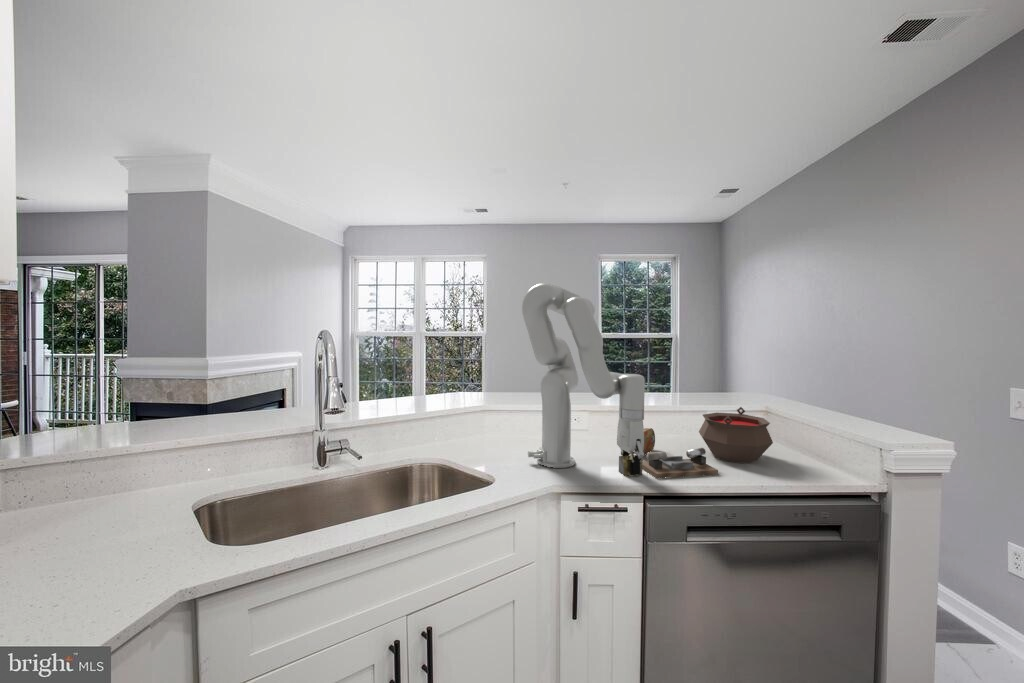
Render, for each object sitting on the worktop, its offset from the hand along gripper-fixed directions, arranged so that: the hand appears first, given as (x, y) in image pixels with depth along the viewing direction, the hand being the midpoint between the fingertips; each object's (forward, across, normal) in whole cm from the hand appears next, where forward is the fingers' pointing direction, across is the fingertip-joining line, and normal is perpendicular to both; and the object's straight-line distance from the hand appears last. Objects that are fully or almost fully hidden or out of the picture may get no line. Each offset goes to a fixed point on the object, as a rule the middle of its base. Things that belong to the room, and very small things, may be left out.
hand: (630, 470), depth 142 cm
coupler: (+1, 0, 0) cm, 1 cm away
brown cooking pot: (+1, -10, +44) cm, 45 cm away
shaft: (-1, -1, +23) cm, 23 cm away
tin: (+1, -20, +15) cm, 25 cm away
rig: (+1, 0, +16) cm, 16 cm away
